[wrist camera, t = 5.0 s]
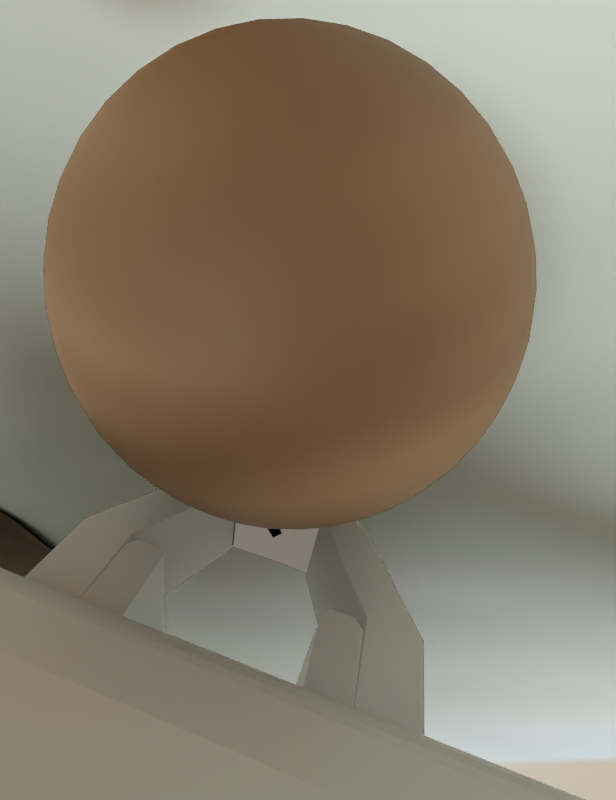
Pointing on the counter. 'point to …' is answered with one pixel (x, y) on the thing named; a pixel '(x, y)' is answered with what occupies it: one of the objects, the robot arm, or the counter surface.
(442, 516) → the counter surface
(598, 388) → the counter surface
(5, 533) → the pillar candle
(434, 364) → the walnut ball
